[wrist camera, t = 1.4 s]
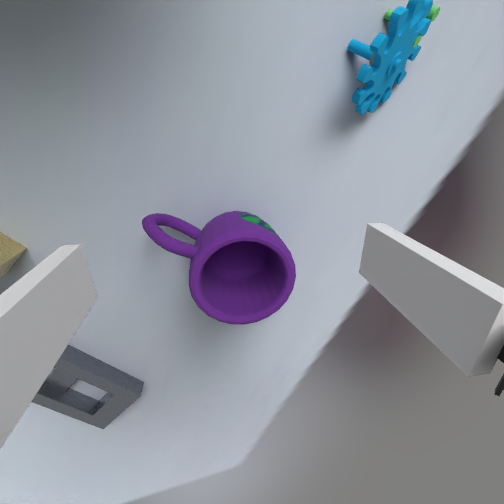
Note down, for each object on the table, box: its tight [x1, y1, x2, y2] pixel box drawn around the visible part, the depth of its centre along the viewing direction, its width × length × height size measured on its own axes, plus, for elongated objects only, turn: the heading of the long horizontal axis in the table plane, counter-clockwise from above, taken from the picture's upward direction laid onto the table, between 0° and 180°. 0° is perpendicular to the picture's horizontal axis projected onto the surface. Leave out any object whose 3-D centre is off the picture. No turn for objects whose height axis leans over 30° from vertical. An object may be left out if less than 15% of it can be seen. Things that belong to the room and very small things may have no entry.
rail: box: [31, 345, 144, 429], centre depth 38 cm, size 30×10×2 cm, turn 44°
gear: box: [348, 0, 440, 115], centre depth 27 cm, size 11×6×10 cm
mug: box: [142, 211, 296, 324], centre depth 31 cm, size 17×11×10 cm, turn 60°
